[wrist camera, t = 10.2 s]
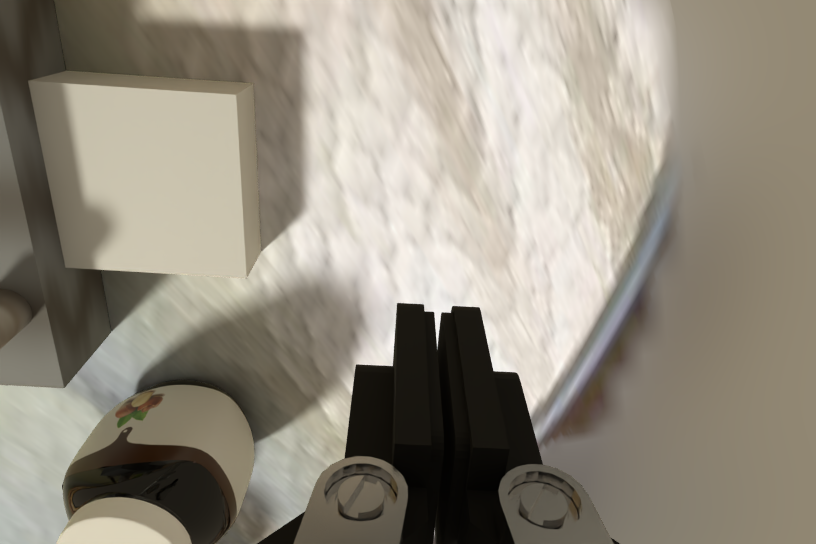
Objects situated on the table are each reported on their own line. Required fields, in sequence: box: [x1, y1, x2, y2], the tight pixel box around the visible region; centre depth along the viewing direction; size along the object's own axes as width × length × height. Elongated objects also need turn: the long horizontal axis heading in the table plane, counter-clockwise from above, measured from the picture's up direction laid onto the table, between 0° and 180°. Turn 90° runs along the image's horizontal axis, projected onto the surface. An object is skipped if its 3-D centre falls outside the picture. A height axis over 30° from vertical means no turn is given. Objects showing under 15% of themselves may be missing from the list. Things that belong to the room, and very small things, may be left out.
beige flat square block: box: [28, 71, 261, 278], centre depth 33 cm, size 10×10×4 cm
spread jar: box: [56, 380, 254, 544], centre depth 39 cm, size 12×11×12 cm
